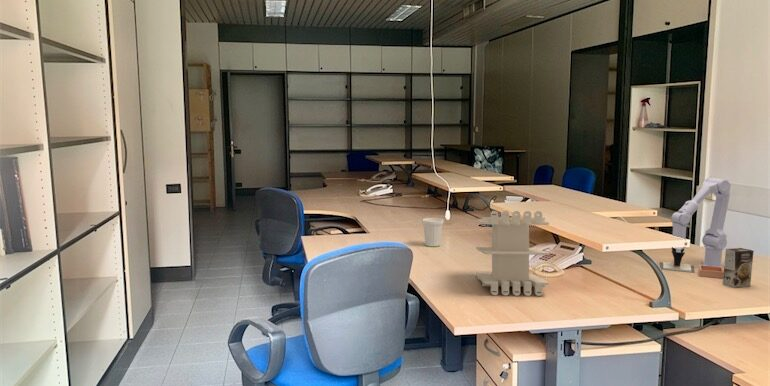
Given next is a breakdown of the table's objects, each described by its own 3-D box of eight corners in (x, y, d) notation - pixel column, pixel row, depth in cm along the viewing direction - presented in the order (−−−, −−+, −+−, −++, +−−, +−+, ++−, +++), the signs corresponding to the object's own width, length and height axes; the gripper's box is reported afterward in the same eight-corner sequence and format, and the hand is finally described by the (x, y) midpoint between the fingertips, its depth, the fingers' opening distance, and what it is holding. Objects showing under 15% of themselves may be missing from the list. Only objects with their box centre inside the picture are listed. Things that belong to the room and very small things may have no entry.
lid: (663, 263, 279) (663, 254, 279) (690, 266, 274) (690, 256, 273) (663, 268, 269) (663, 259, 268) (691, 271, 263) (691, 262, 263)
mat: (659, 263, 281) (659, 262, 281) (693, 266, 275) (693, 265, 275) (659, 270, 268) (659, 269, 268) (694, 273, 261) (695, 273, 261)
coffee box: (734, 288, 239) (737, 251, 237) (721, 284, 245) (724, 248, 243) (751, 286, 242) (754, 250, 240) (738, 282, 248) (741, 247, 246)
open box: (698, 272, 265) (698, 264, 264) (722, 274, 260) (723, 267, 260) (699, 277, 256) (699, 269, 255) (724, 279, 251) (725, 272, 251)
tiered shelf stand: (484, 295, 228) (484, 210, 229) (475, 285, 259) (475, 210, 260) (549, 296, 227) (549, 211, 228) (532, 286, 258) (532, 211, 259)
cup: (419, 247, 317) (420, 220, 315) (424, 242, 329) (424, 217, 327) (441, 248, 314) (441, 222, 312) (445, 243, 326) (445, 218, 324)
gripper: (669, 233, 278) (667, 259, 279) (669, 238, 265) (668, 266, 267) (685, 234, 274) (683, 261, 276) (686, 240, 262) (684, 268, 263)
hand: (677, 263), depth 271 cm, fingers open, 6 cm apart
